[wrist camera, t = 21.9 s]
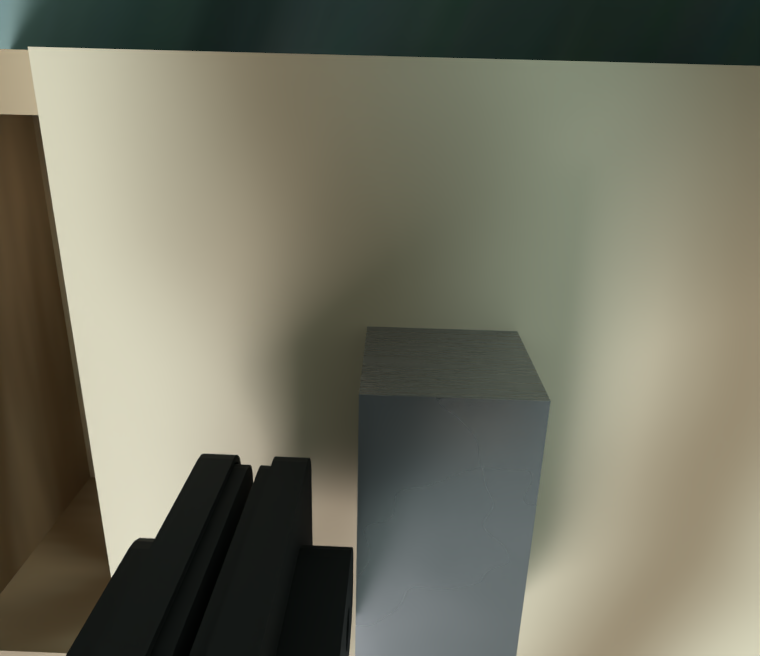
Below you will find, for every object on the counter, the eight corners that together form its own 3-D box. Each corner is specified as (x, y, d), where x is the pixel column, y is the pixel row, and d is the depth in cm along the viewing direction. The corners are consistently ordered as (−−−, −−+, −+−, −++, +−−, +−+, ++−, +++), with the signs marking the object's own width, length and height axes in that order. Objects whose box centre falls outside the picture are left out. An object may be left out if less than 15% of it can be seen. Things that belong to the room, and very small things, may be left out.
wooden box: (78, 483, 23) (-75, 678, 15) (7, 57, 18) (-273, 41, 10) (643, 504, 23) (765, 713, 15) (732, 76, 18) (977, 74, 10)
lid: (157, 699, 15) (89, 876, 12) (68, 50, 10) (-96, 35, 7) (1021, 735, 15) (1205, 926, 11) (1374, 84, 10) (1883, 87, 6)
